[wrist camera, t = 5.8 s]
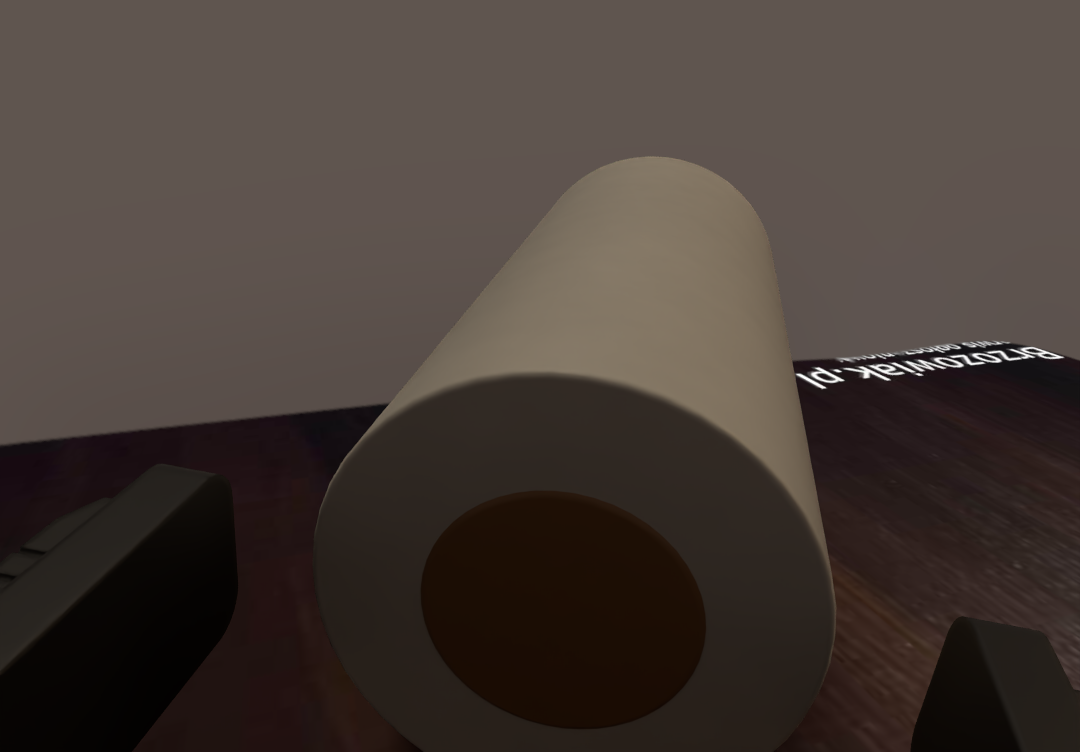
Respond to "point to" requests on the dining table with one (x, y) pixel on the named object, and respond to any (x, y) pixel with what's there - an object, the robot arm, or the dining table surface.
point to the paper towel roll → (593, 496)
